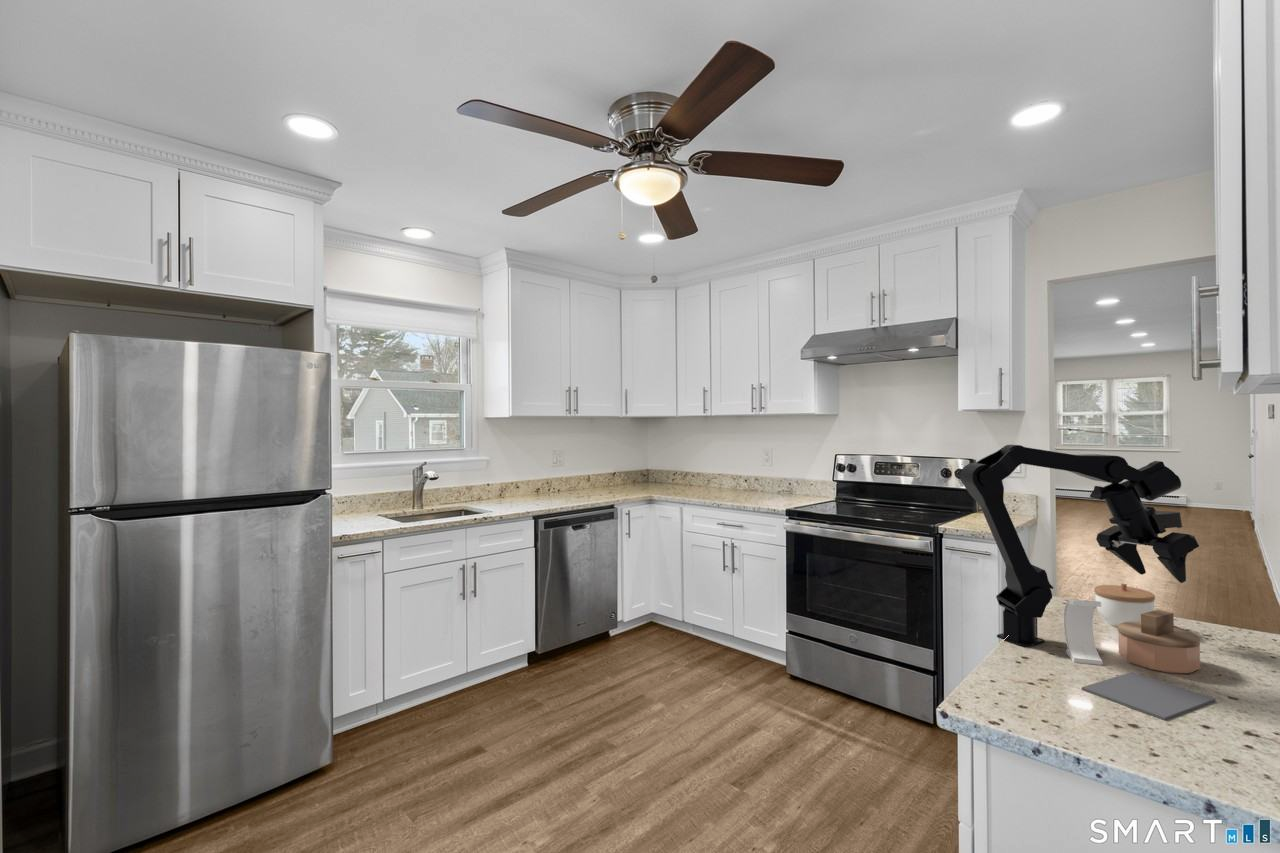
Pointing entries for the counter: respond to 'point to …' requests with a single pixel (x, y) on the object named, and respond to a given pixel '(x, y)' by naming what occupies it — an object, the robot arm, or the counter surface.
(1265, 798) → the counter surface
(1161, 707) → the mat
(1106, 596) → the lidded jar
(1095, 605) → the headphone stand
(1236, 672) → the counter surface
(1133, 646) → the bowl
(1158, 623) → the lid
